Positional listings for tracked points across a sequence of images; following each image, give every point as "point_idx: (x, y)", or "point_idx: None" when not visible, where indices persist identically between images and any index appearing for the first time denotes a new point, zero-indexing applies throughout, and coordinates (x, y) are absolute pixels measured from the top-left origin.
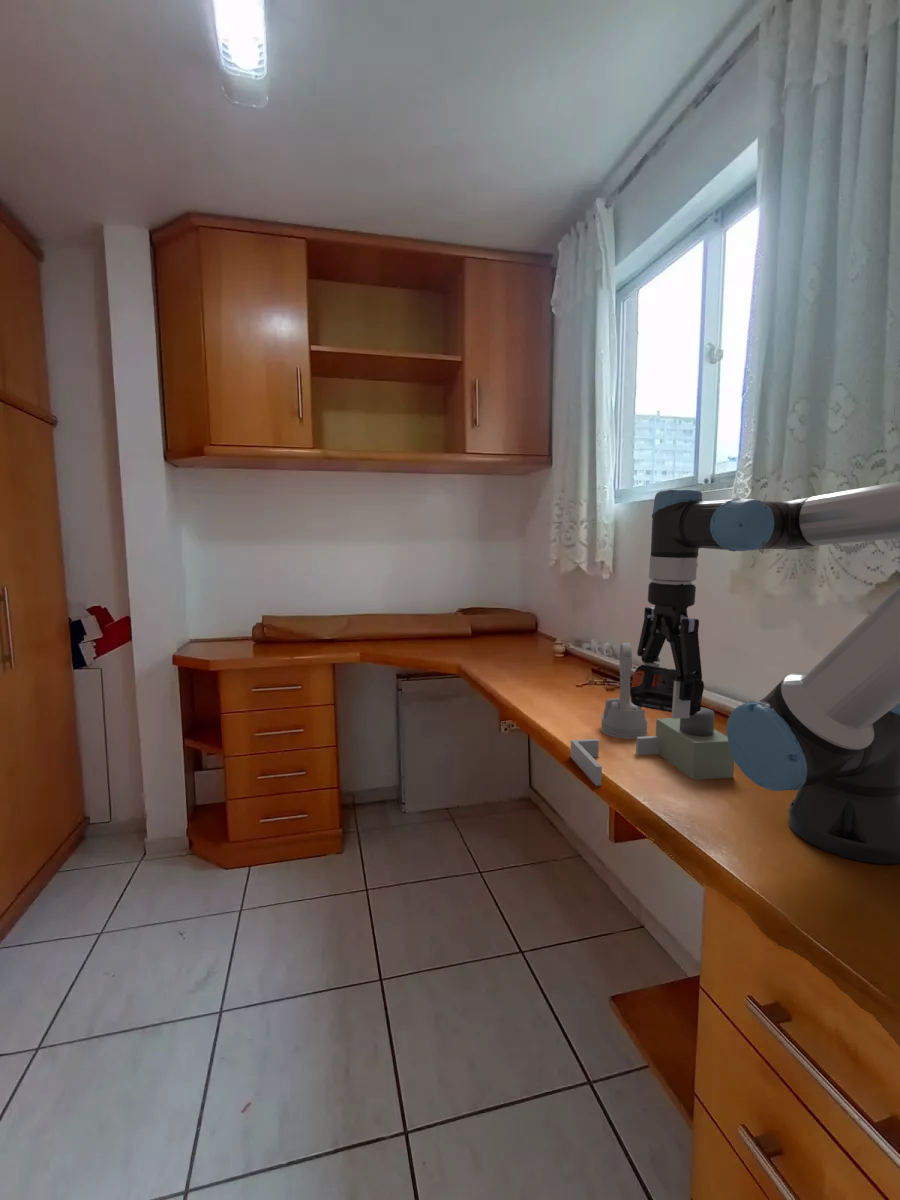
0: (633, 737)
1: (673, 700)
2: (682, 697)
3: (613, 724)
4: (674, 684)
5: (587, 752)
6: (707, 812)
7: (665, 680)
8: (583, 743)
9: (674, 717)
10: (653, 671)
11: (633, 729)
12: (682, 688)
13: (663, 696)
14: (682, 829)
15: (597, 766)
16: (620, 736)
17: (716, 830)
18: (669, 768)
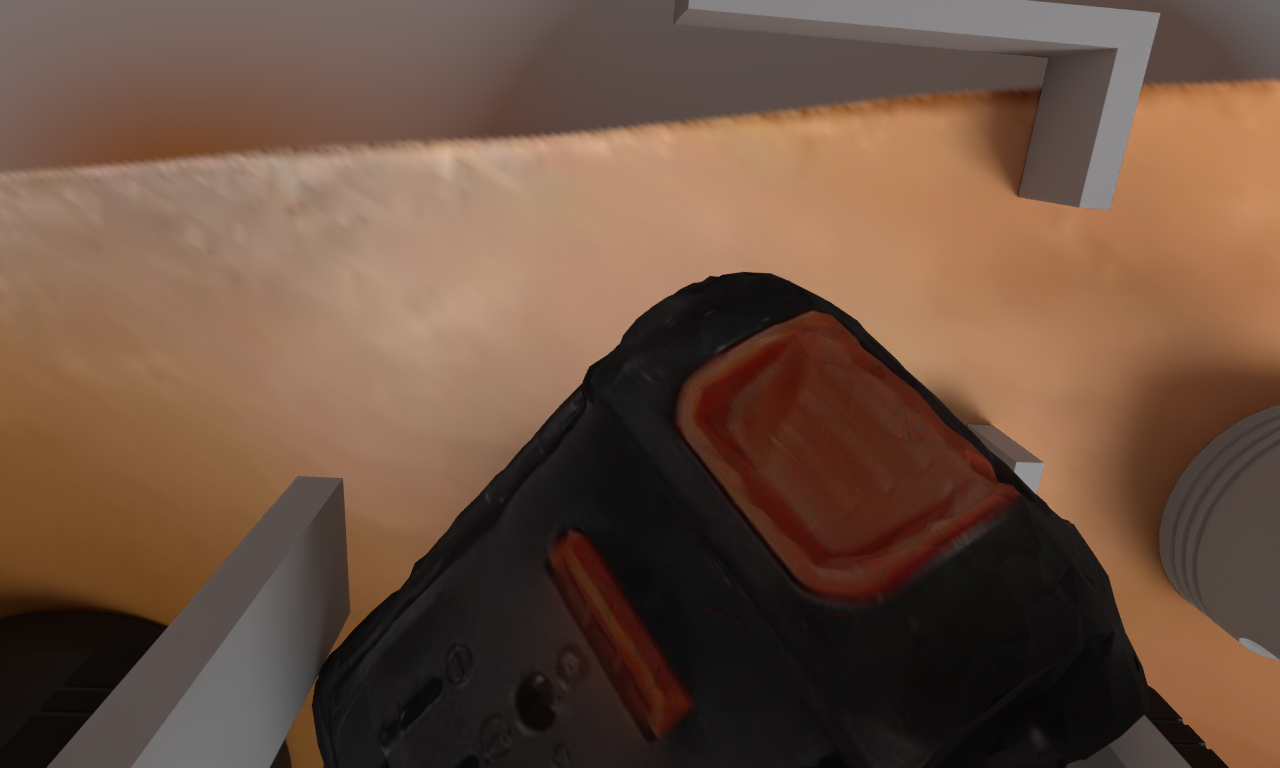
0: (1170, 512)
1: (255, 573)
2: (105, 658)
3: None
4: (136, 722)
5: (925, 26)
6: (315, 397)
7: (537, 745)
8: (1096, 96)
9: (296, 486)
10: (743, 736)
11: (1205, 534)
12: (42, 749)
13: (457, 555)
14: (160, 191)
15: None
16: (1210, 453)
17: (148, 337)
18: None
